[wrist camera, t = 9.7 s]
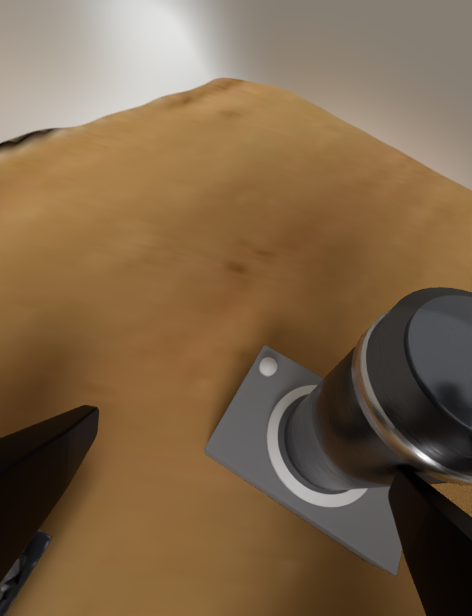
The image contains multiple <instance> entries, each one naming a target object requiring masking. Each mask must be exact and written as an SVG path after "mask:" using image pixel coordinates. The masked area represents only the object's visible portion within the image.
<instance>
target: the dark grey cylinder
mask: <svg viewBox="0 0 472 616" xmlns="http://www.w3.org/2000/svg"><path fill="white" fill-rule="evenodd" d="M284 443H285V449H286V452H287V455H288V458H289V460H290V462H291V464H292V466H293V467H294V468H295V470H296V471H297V472H298V474H299V475H300V476H301V477H302V478H303V479H305V480H306V481H307V482H309V483H310V484H312V485H314V486H316V487H318V488H321V489H324V490H333V491H336V490H350V489H365V488H380V487H390V486H391V483H392V481H393V478H394V475H395V473H396V471H397V470H399V469H402V470H407V471H411V472H414V473H415V474H417V475H418V476H419V477H421V478H422V479H423V480H424V481H426V482H427V483H428V484H439V483H452V484H458V485H470V486H472V293H471V292H468V291H464V290H459V289H453V288H442V287H439V288H427V289H422V290H419V291H416V292H413V293H411V294H409V295H407V296H405V297H404V298H403V299H401V300H400V301H399V302H398V303H397V304H396V305H395V306H394V307H393V308H392V309H391V310H390V311H388V312H386V313H384V314H383V315H382V316H380V317H379V318H378V319H377V320H376V321H375V322H374V323H373V324H372V325H371V326H370V327H369V328H368V329H367V331H366V332H365V333H364V334H363V335H362V336H361V338H360V339H359V341H358V342H357V345H356V346H355V347H354V348H353V349H352V350H351V351H350V352H349V354H348V355H347V356H346V357H345V358H344V359H343V360H342V361H341V362H340V363H339V364H338V365H337V366H336V367H335V368H334V369H333V370H332V371H331V372H330V373H329V374H328V375H327V376H326V377H325V378H324V379H323V380H322V381H321V382H320V383H319V384H318V385H317V386H316V388H315V389H314V390H313V391H312V392H311V393H310V394H309V395H308V396H307V397H306V398H305V399H304V400H303V401H302V402H301V403H300V404H299V405H298V406H297V407H296V408H295V409H294V410H293V411H292V413H291V414H290V416H289V418H288V420H287V422H286V425H285V431H284Z"/></svg>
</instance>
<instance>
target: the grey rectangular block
mask: <svg viewBox="0 0 472 616" xmlns="http://www.w3.org/2000/svg"><path fill="white" fill-rule="evenodd" d="M323 379H324V378H323V377H321V376H319V375H317V374H316V373H314V372H312V371H310V370H309V369H307V368H305V367H303V366H301V365H300V364H298V363H296V362H294V361H292V360H291V359H289V358H287V357H285V356H284V355H282V354H280V353H278V352H276V351H275V350H273V349H271V348H269V347H267V346H266V345H264V346H263V348H262V350H261V351H260V353H259V355H258V357H257V358H256V360H255V362H254V363H253V365H252V367H251V369H250V370H249V372H248V374H247V376H246V377H245V379H244V381H243V382H242V384H241V386H240V388H239V389H238V391H237V393H236V395H235V396H234V398H233V400H232V402H231V403H230V405H229V407H228V408H227V410H226V412H225V414H224V415H223V417H222V419H221V421H220V422H219V424H218V426H217V427H216V429H215V431H214V433H213V434H212V436H211V438H210V440H209V441H208V443H207V445H206V446H205V448H204V453H205V454H206V455H208V456H209V457H211V458H212V459H214V460H215V461H217V462H218V463H219V464H221V465H222V466H224V467H225V468H227V469H228V470H230V471H231V472H233V473H234V474H236V475H237V476H239V477H240V478H242V479H243V480H245V481H246V482H248V483H249V484H251V485H252V486H254V487H255V488H257V489H258V490H260V491H261V492H263V493H264V494H266V495H267V496H269V497H270V498H272V499H273V500H275V501H276V502H278V503H279V504H281V505H282V506H284V507H285V508H287V509H288V510H290V511H291V512H293V513H294V514H296V515H297V516H299V517H300V518H302V519H303V520H305V521H306V522H308V523H309V524H311V525H312V526H314V527H315V528H317V529H318V530H320V531H321V532H323V533H324V534H326V535H327V536H329V537H330V538H332V539H333V540H335V541H336V542H338V543H339V544H341V545H342V546H344V547H345V548H347V549H348V550H350V551H351V552H353V553H354V554H356V555H357V556H359V557H360V558H362V559H363V560H365V561H366V562H368V563H370V564H372V565H375V566H377V567H379V568H381V569H383V570H385V571H387V572H389V573H391V574H393V575H395V576H397V572H398V567H399V562H400V557H401V552H402V546H401V543H400V539H399V536H398V532H397V528H396V525H395V521H394V518H393V514H392V511H391V507H390V504H389V500H388V491H389V488H390V487H380V488H365V489H350V490H336V491H333V490H324V489H321V488H318V487H316V486H314V485H312V484H310V483H309V482H307V481H306V480H305V479H303V478H302V477H301V476H300V475H299V474H298V472H297V471H296V470H295V468H294V467H293V466H292V464H291V462H290V460H289V458H288V455H287V452H286V449H285V443H284V431H285V425H286V422H287V420H288V418H289V416H290V414H291V413H292V411H293V410H294V409H295V408H296V407H297V406H298V405H299V404H300V403H301V402H302V401H303V400H304V399H305V398H306V397H307V396H308V395H309V394H310V393H311V392H312V391H313V390H314V389H315V388H316V386H317V385H318V384H319V383H320V382H321V381H322V380H323Z"/></svg>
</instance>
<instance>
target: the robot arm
mask: <svg viewBox="0 0 472 616" xmlns="http://www.w3.org/2000/svg"><path fill="white" fill-rule="evenodd" d="M98 418H99V409H98V408H97V407H94V406H89V405H83V406H80V407H78V408H75V409H73V410H70V411H68V412H65V413H63V414H60V415H58V416H55V417H52V418H50V419H47V420H45V421H42V422H40V423H37V424H35V425H32V426H30V427H27V428H25V429H22V430H20V431H17V432H15V433H12V434H10V435H7V436H5V437H2V438H0V583H1V582H2V580H3V579H4V578H5V576H6V575H7V573H8V572H9V570H10V569H11V568H12V566H13V565H14V563H15V562H16V560H17V559H18V558H19V556H20V555H21V553H22V552H23V550H24V549H25V548H26V546H27V545H28V543H29V542H30V541H31V539H32V538H33V536H34V535H35V533H36V532H37V531H38V529H39V528H40V526H41V525H42V523H43V522H44V521H45V519H46V518H47V516H48V515H49V513H50V512H51V511H52V509H53V508H54V506H55V505H56V503H57V502H58V501H59V499H60V498H61V496H62V495H63V493H64V492H65V490H66V489H67V487H68V485H69V484H70V482H71V480H72V479H73V477H74V475H75V473H76V472H77V470H78V468H79V466H80V464H81V463H82V461H83V459H84V457H85V456H86V454H87V452H88V450H89V449H90V447H91V445H92V443H93V441H94V440H95V437H96V435H97V430H98ZM388 500H389V504H390V507H391V511H392V514H393V518H394V521H395V525H396V528H397V532H398V536H399V539H400V543H401V546H402V550H403V553H404V556H405V559H406V562H407V565H408V568H409V571H410V573H411V576H412V579H413V581H414V584H415V587H416V589H417V592H418V595H419V597H420V600H421V602H422V605H423V608H424V610H425V613H426V616H472V517H471V516H469V515H468V514H467V513H465V512H464V511H463V510H462V509H460V508H459V507H458V506H456V505H455V504H454V503H453V502H451V501H450V500H449V499H447V498H446V497H445V496H444V495H442V494H441V493H440V492H438V491H437V490H436V489H435V488H433V487H432V486H431V485H429V484H428V483H427V482H426V481H424V480H423V479H422V478H421V477H419V476H418V475H417V474H415V473H414V472H411V471H407V470H402V469H399V470H397V471H396V473H395V475H394V478H393V481H392V483H391V486H390V488H389V491H388Z"/></svg>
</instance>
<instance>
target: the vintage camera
mask: <svg viewBox="0 0 472 616" xmlns="http://www.w3.org/2000/svg"><path fill="white" fill-rule="evenodd" d="M51 539H52V537H51V536H50V535H48V534H46V533H45V532H43V531H42V530H40V529H38V531H37V532H36V533H35V535H34V536H33V538H32V539H31V541H30V542H29V543H28V545H27V546H26V548H25V549H24V550H23V552H22V553H21V555H20V556H19V558H18V559H17V560H16V562H15V563H14V565H13V566H12V568H11V569H10V570H9V572H8V573H7V575H6V576H5V578H4V579H3V580H2V582H1V583H0V616H4V615H5V614H6V612H7V610H8V609H9V607H10V606H11V604H12V602H13V601H14V599H15V598H16V596H17V594H18V593H19V591H20V589H21V588H22V586H23V585H24V583H25V581H26V580H27V578H28V577H29V575H30V573H31V572H32V570H33V568H34V567H35V565H36V564H37V562H38V560H39V559H40V557H41V556H42V554H43V552H44V551H45V549H46V548H47V546H48V544H49V543H50V541H51Z"/></svg>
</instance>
